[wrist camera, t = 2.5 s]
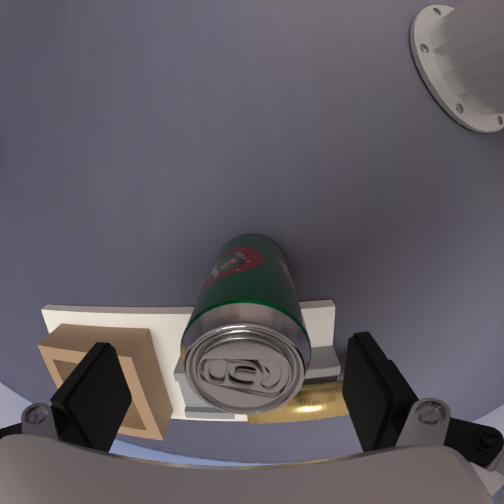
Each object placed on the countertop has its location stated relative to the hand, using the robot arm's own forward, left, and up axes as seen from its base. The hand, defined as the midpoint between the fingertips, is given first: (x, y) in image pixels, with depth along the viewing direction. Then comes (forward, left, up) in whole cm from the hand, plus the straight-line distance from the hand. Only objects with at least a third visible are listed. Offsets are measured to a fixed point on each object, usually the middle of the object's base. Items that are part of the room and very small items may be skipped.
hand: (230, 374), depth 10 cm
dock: (+6, +8, -11) cm, 15 cm away
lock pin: (-5, +8, -8) cm, 13 cm away
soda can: (-1, -1, -11) cm, 11 cm away
